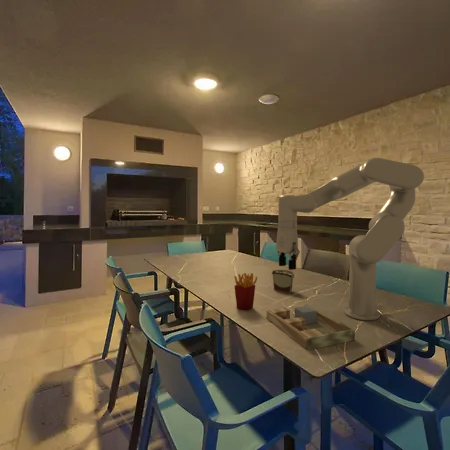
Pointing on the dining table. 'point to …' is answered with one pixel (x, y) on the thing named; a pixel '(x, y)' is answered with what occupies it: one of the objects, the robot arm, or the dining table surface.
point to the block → (306, 314)
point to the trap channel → (312, 336)
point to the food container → (283, 280)
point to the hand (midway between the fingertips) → (287, 267)
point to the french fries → (245, 291)
